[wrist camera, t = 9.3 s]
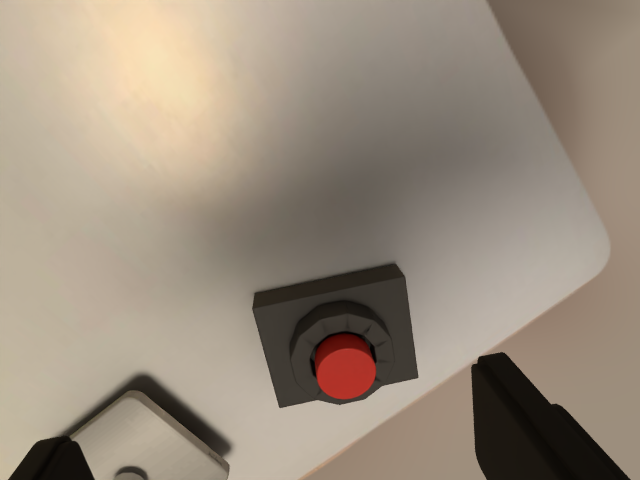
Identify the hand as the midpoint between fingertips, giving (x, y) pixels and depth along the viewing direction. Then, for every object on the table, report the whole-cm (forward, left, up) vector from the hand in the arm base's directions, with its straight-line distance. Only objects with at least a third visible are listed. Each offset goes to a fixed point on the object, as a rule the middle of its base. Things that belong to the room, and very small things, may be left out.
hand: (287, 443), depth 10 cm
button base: (-2, +8, -18) cm, 20 cm away
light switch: (+14, +15, -18) cm, 27 cm away
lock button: (-2, +8, -15) cm, 17 cm away
